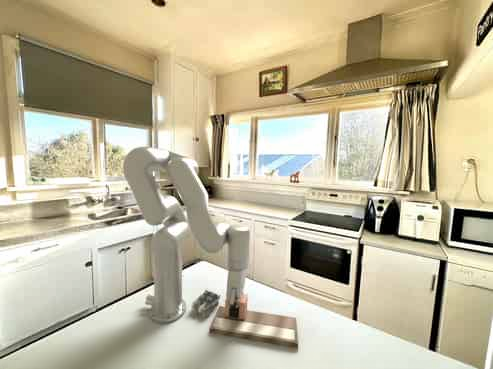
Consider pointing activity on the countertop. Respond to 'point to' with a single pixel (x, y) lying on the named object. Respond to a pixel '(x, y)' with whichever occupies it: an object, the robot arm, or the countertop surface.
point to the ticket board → (257, 327)
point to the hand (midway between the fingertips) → (236, 308)
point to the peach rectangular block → (241, 304)
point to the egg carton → (209, 298)
